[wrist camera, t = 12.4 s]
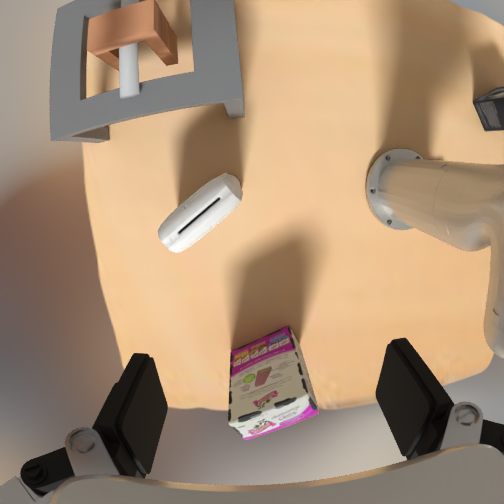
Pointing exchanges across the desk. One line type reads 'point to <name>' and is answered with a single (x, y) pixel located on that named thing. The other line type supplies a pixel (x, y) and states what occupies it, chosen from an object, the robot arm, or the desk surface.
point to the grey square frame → (131, 91)
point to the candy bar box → (269, 385)
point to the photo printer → (201, 212)
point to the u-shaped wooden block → (132, 32)
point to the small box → (491, 109)
